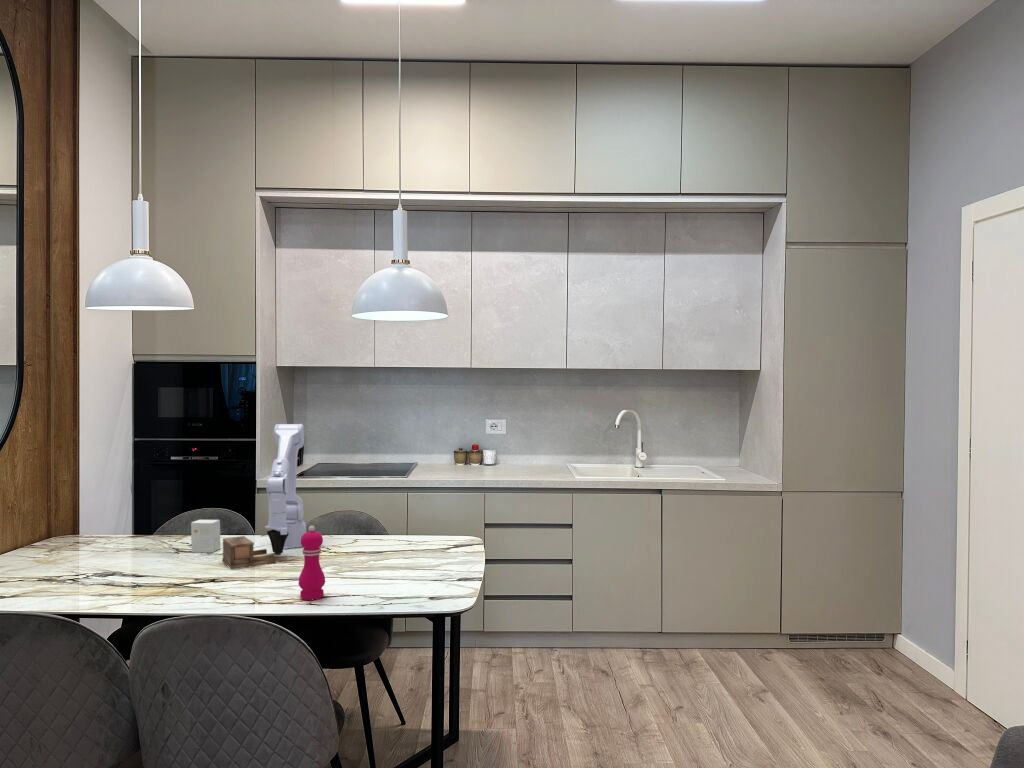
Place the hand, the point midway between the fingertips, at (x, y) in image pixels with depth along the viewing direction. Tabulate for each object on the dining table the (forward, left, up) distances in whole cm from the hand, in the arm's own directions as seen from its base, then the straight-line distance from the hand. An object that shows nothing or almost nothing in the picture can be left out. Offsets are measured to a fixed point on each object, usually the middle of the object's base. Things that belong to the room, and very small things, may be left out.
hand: (277, 552), depth 253 cm
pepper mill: (+5, +49, -2) cm, 49 cm away
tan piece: (+7, 0, -1) cm, 7 cm away
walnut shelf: (+9, 0, -2) cm, 10 cm away
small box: (+17, -25, -2) cm, 31 cm away
